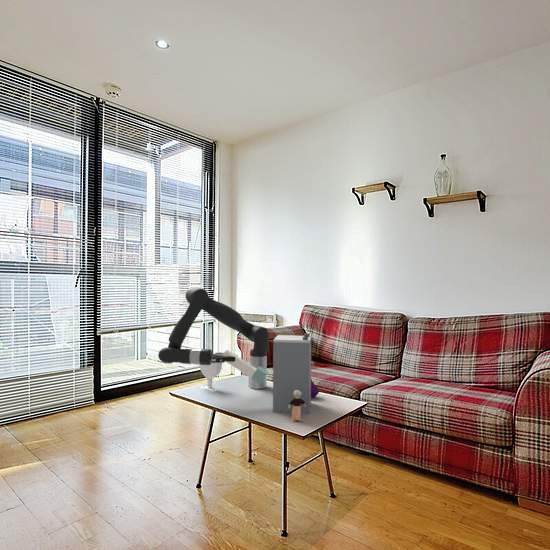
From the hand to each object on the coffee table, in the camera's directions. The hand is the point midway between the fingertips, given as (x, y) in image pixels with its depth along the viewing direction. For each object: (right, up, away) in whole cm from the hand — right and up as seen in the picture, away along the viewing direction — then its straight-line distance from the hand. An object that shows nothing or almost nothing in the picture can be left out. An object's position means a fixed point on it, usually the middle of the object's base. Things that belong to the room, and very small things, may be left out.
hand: (236, 358), depth 191 cm
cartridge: (+2, -5, 0) cm, 5 cm away
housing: (+26, -22, -4) cm, 35 cm away
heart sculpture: (-17, -22, +27) cm, 39 cm away
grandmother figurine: (+28, -22, -22) cm, 41 cm away
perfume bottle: (+36, -22, +13) cm, 44 cm away
